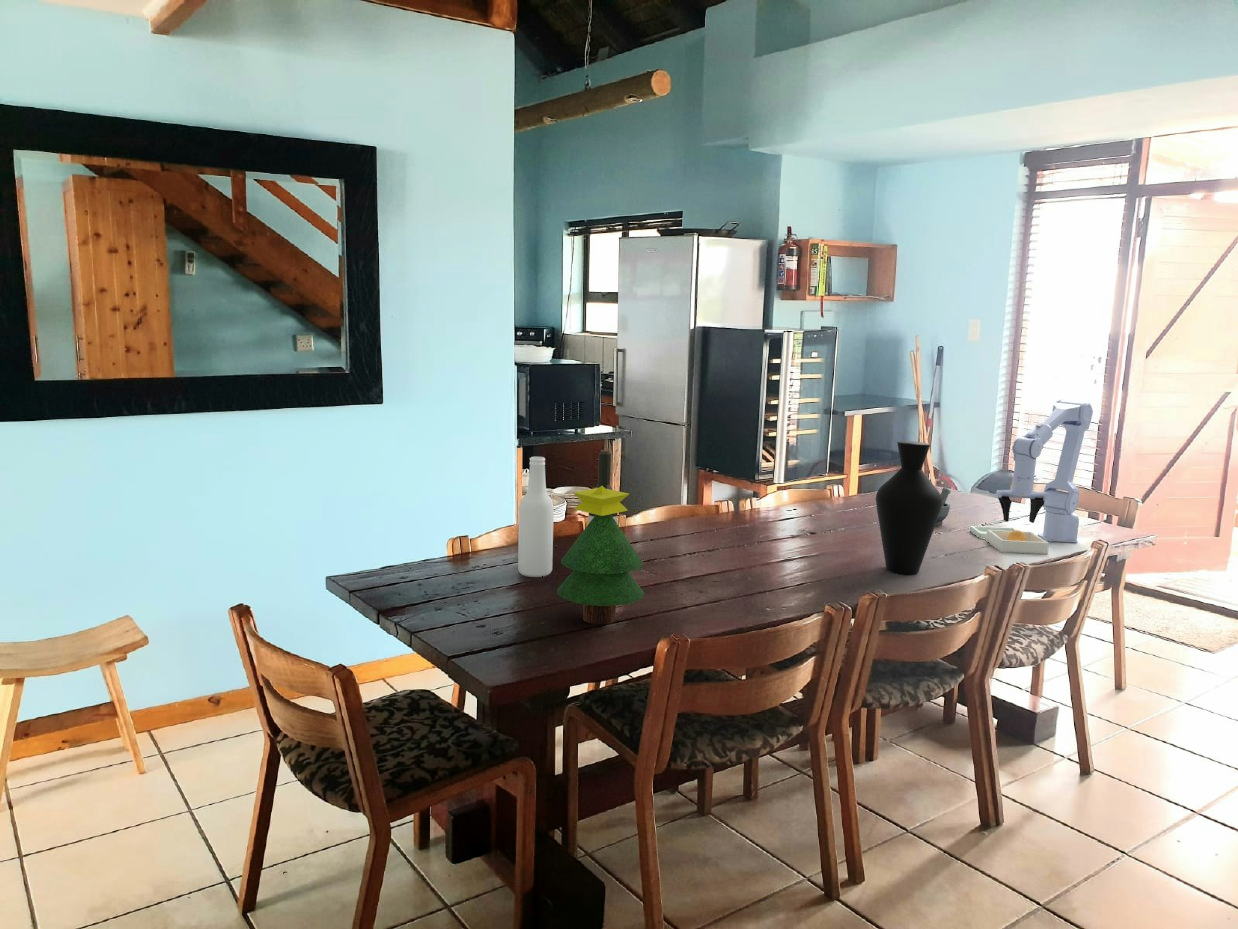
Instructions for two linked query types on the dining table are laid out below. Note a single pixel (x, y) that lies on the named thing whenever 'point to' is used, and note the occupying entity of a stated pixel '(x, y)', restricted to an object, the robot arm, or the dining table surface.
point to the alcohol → (536, 524)
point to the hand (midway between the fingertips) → (1018, 521)
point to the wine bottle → (604, 477)
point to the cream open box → (1017, 542)
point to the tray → (982, 531)
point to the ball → (1017, 536)
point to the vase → (907, 511)
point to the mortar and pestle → (943, 507)
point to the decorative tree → (601, 560)
